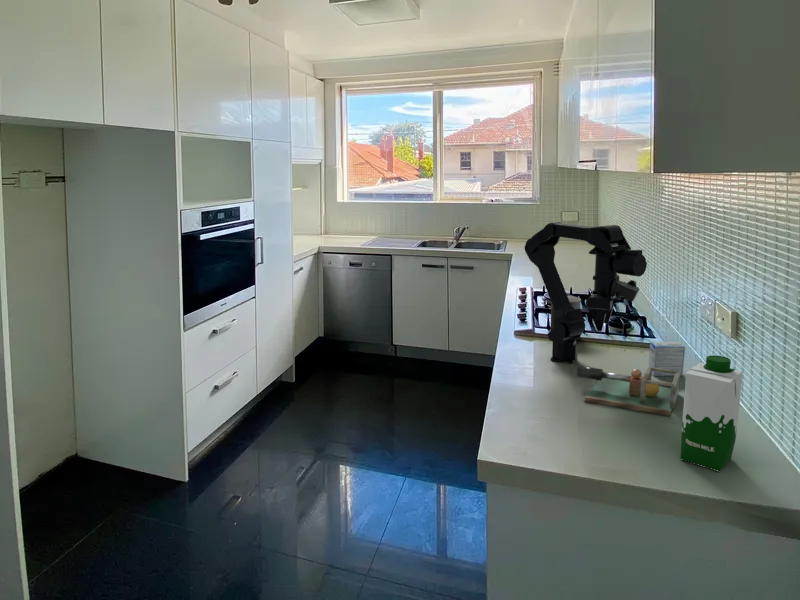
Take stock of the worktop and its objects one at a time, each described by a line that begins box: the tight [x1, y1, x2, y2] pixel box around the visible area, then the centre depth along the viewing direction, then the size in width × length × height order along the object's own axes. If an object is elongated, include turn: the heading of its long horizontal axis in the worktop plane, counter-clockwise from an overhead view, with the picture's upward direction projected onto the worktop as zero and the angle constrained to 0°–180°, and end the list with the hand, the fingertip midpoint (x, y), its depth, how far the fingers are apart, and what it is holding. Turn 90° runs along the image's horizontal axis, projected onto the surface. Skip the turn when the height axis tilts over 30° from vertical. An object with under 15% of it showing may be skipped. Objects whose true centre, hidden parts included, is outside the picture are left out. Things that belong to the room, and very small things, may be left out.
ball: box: [646, 383, 659, 397], centre depth 137 cm, size 4×4×4 cm
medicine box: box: [648, 341, 686, 377], centre depth 153 cm, size 8×4×9 cm, turn 84°
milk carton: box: [679, 355, 744, 472], centre depth 105 cm, size 9×9×20 cm
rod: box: [576, 365, 643, 396], centre depth 142 cm, size 15×4×6 cm, turn 59°
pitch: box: [584, 366, 681, 417], centre depth 139 cm, size 20×20×6 cm
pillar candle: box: [549, 295, 582, 332], centre depth 189 cm, size 10×10×15 cm
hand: (603, 327), depth 154 cm, fingers open, 9 cm apart
